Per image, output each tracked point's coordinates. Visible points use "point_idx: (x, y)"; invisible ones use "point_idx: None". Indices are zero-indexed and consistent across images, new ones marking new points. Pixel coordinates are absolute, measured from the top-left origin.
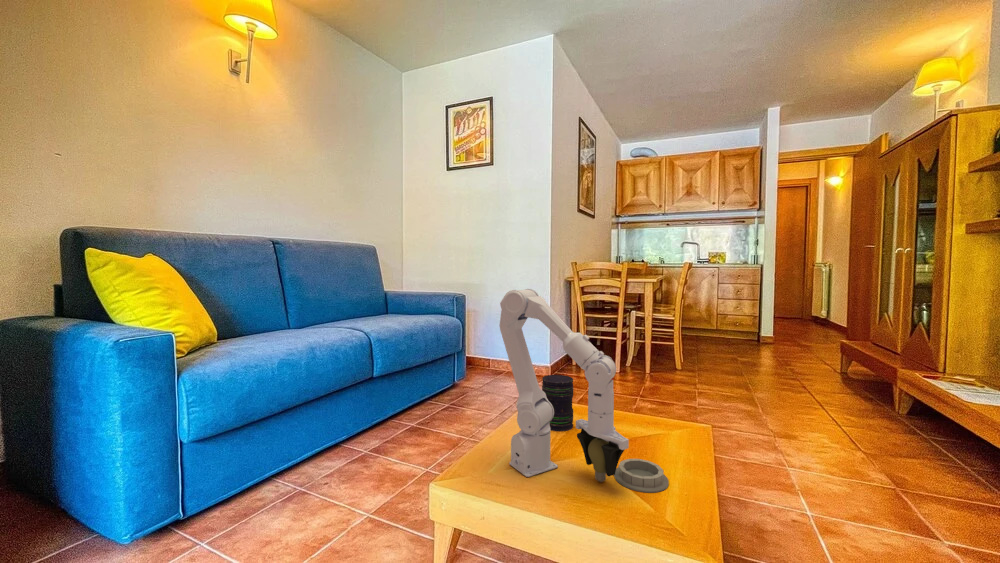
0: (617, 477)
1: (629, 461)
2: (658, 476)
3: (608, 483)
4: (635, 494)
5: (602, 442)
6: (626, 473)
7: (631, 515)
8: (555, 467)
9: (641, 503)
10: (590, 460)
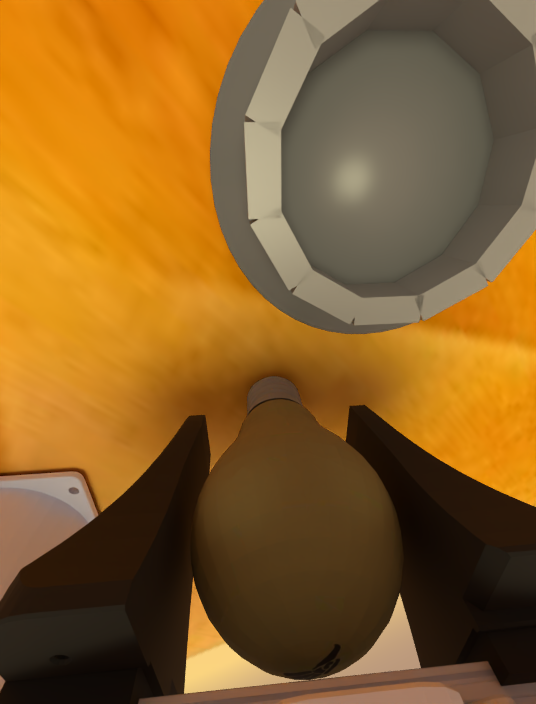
0: (305, 312)
1: (280, 148)
2: None
3: (303, 369)
4: (439, 333)
5: (364, 654)
6: (384, 323)
7: (493, 442)
8: (84, 486)
9: (489, 363)
10: (206, 460)
